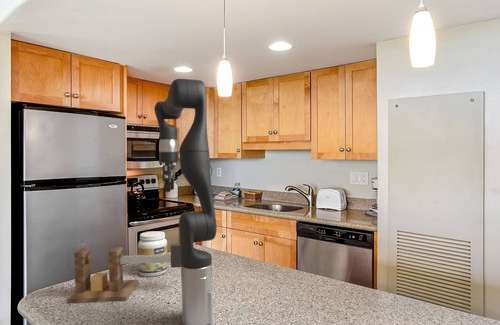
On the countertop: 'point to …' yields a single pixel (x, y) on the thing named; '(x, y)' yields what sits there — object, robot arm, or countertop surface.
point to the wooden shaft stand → (116, 284)
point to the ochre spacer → (99, 282)
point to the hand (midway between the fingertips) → (169, 190)
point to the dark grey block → (155, 258)
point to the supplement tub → (152, 252)
